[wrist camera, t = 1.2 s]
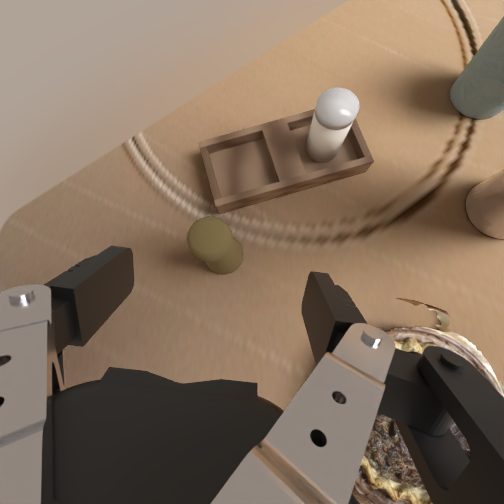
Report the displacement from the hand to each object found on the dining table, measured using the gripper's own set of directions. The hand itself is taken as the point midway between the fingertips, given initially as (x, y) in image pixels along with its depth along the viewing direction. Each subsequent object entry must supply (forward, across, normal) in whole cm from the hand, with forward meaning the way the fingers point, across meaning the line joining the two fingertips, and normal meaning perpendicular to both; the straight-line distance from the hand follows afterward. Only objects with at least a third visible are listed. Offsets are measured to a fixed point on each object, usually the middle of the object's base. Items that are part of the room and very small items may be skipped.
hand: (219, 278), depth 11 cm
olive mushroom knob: (+25, +2, +10) cm, 27 cm away
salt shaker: (+33, -11, -7) cm, 35 cm away
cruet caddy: (+33, -5, -4) cm, 33 cm away
